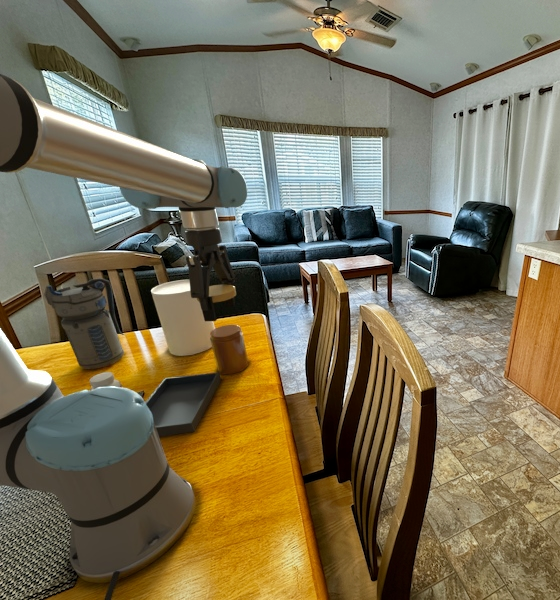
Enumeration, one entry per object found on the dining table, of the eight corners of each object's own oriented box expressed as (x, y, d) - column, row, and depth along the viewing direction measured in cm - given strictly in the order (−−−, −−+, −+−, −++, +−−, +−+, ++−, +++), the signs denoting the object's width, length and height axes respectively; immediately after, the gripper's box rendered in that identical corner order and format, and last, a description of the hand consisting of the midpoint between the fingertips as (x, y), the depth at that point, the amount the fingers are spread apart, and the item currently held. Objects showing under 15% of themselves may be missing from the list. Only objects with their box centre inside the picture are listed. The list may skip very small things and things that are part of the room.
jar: (244, 372, 91) (237, 335, 87) (213, 375, 89) (204, 338, 85) (251, 357, 98) (244, 323, 94) (222, 360, 97) (214, 325, 92)
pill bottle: (128, 414, 76) (114, 378, 72) (98, 423, 73) (82, 387, 69) (130, 401, 80) (117, 367, 76) (102, 409, 77) (87, 374, 73)
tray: (194, 432, 70) (191, 422, 69) (124, 441, 68) (121, 432, 67) (221, 379, 88) (219, 371, 87) (167, 385, 85) (164, 377, 84)
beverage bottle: (140, 355, 100) (113, 277, 90) (84, 376, 89) (47, 291, 80) (126, 346, 105) (100, 271, 96) (72, 365, 95) (36, 284, 85)
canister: (160, 348, 104) (142, 288, 96) (203, 331, 114) (189, 277, 107) (183, 360, 97) (164, 297, 90) (226, 341, 108) (213, 283, 100)
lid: (189, 302, 81) (187, 296, 81) (209, 290, 90) (208, 284, 89) (225, 303, 81) (224, 296, 81) (242, 290, 90) (241, 284, 89)
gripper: (211, 221, 89) (227, 298, 98) (154, 236, 69) (181, 331, 77) (238, 221, 89) (252, 298, 98) (190, 236, 69) (212, 331, 77)
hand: (220, 312), depth 87 cm, fingers closed on lid, 9 cm apart
